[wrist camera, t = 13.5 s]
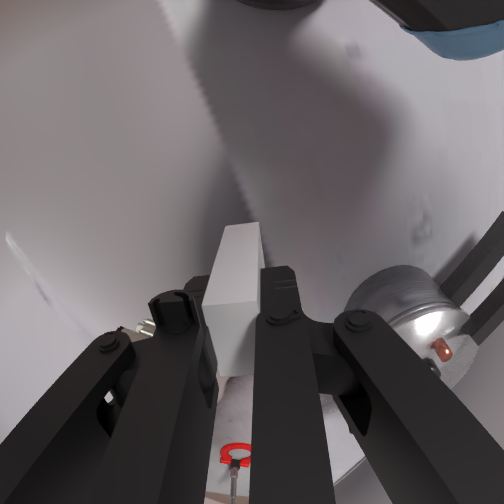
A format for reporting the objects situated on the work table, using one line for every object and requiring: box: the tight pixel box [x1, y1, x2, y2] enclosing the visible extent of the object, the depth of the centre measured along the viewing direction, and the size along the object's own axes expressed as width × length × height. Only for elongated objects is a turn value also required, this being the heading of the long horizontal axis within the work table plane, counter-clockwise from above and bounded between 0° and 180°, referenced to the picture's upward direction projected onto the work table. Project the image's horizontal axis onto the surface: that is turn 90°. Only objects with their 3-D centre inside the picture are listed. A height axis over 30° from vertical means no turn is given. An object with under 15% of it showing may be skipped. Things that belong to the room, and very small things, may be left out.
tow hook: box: [220, 443, 251, 504], centre depth 55 cm, size 8×13×9 cm
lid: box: [348, 279, 504, 434], centre depth 31 cm, size 35×17×4 cm, turn 141°
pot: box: [344, 211, 504, 326], centre depth 38 cm, size 26×26×11 cm
